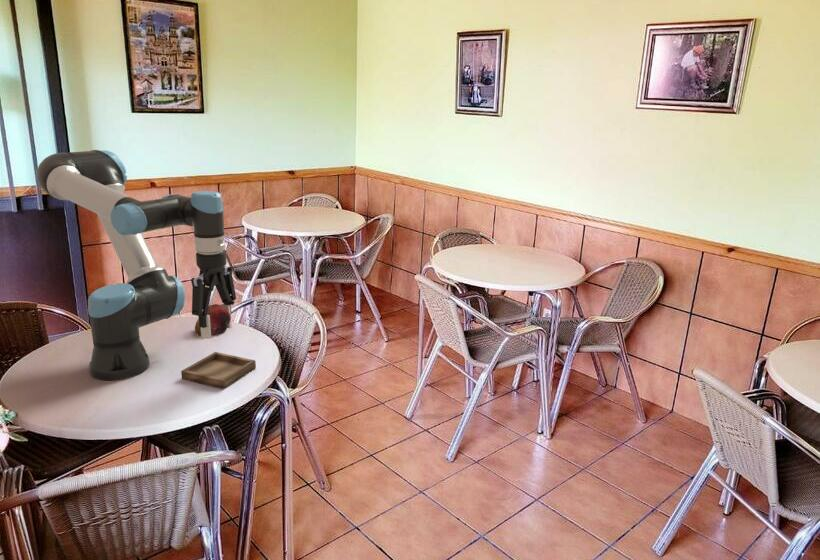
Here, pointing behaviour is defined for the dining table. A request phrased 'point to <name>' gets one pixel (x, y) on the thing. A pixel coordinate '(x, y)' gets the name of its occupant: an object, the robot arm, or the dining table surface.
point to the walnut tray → (218, 370)
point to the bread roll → (198, 329)
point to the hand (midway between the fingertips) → (216, 332)
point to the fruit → (218, 318)
